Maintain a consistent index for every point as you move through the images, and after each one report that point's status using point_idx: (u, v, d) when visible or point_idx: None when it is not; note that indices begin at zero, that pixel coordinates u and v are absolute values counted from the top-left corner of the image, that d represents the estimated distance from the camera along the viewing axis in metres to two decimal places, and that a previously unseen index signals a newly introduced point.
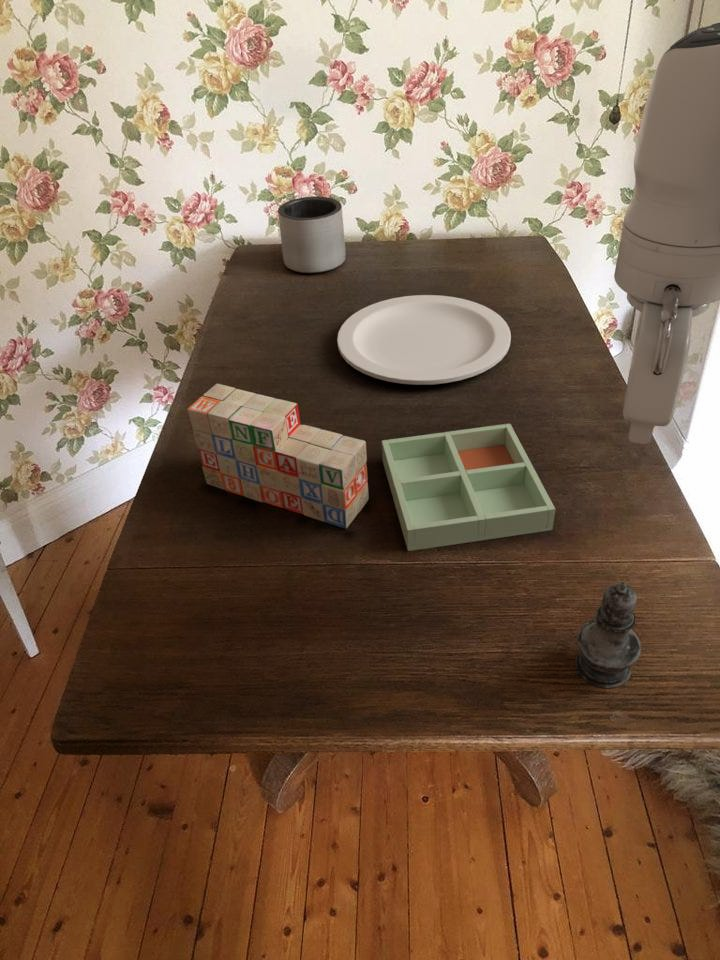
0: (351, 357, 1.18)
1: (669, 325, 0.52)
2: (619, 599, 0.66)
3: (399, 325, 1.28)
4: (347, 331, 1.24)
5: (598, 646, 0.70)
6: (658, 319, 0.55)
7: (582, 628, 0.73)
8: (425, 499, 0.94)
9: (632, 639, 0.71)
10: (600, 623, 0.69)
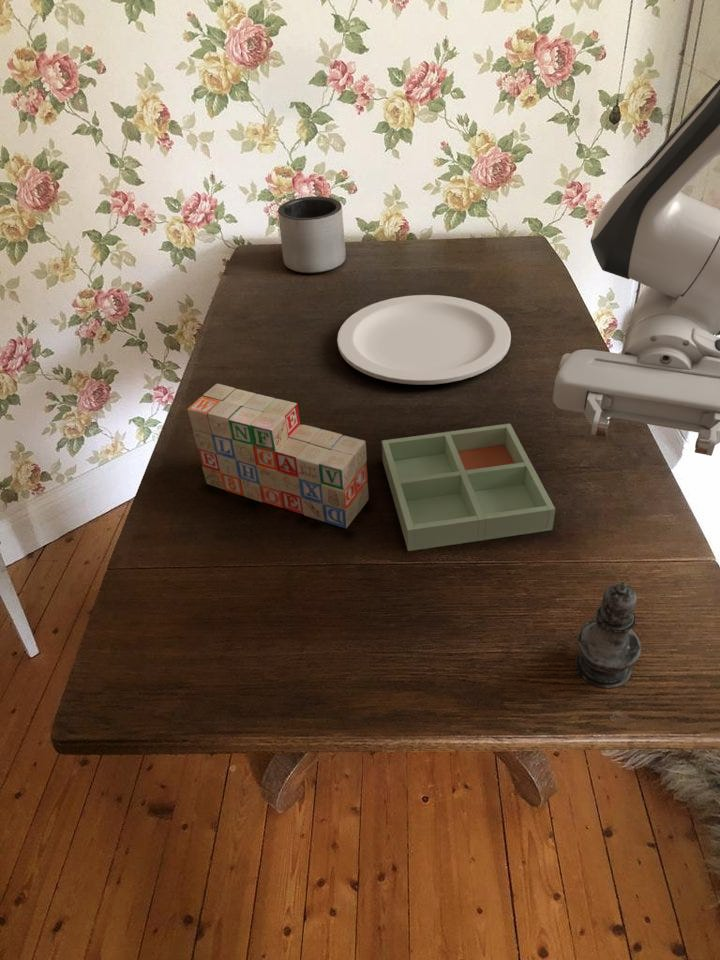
0: (351, 356, 1.18)
1: (571, 353, 0.82)
2: (619, 599, 0.66)
3: (399, 325, 1.28)
4: (347, 331, 1.24)
5: (598, 646, 0.70)
6: None
7: (582, 628, 0.73)
8: (425, 499, 0.94)
9: (632, 639, 0.71)
10: (600, 623, 0.69)
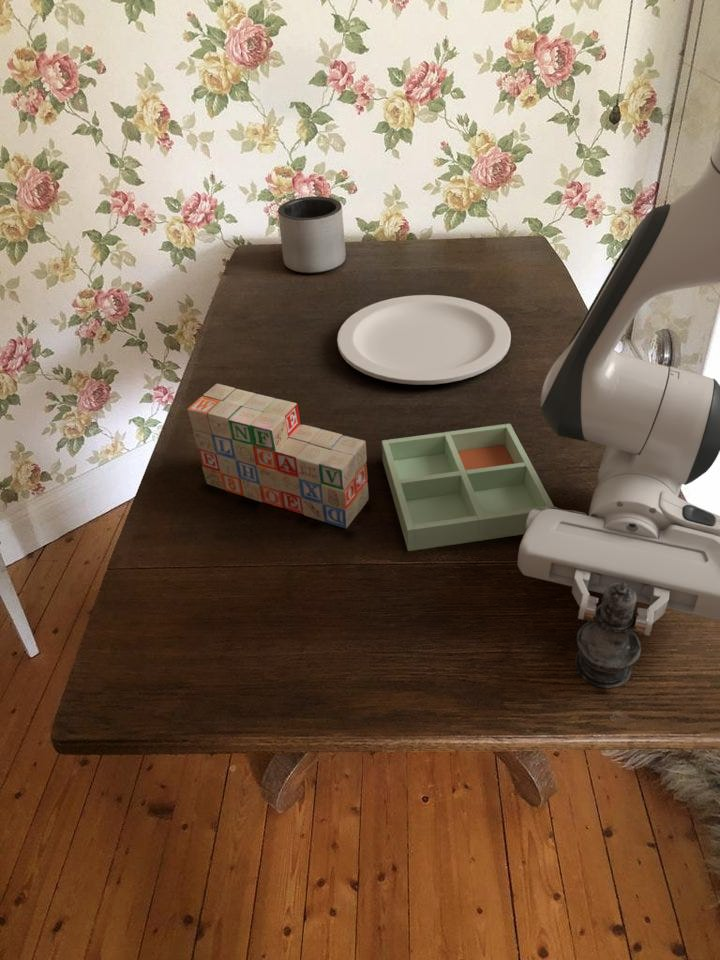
0: (351, 356, 1.18)
1: None
2: (619, 599, 0.66)
3: (399, 325, 1.28)
4: (347, 331, 1.24)
5: (598, 646, 0.70)
6: None
7: (582, 628, 0.73)
8: (425, 499, 0.94)
9: (632, 639, 0.71)
10: (600, 623, 0.69)
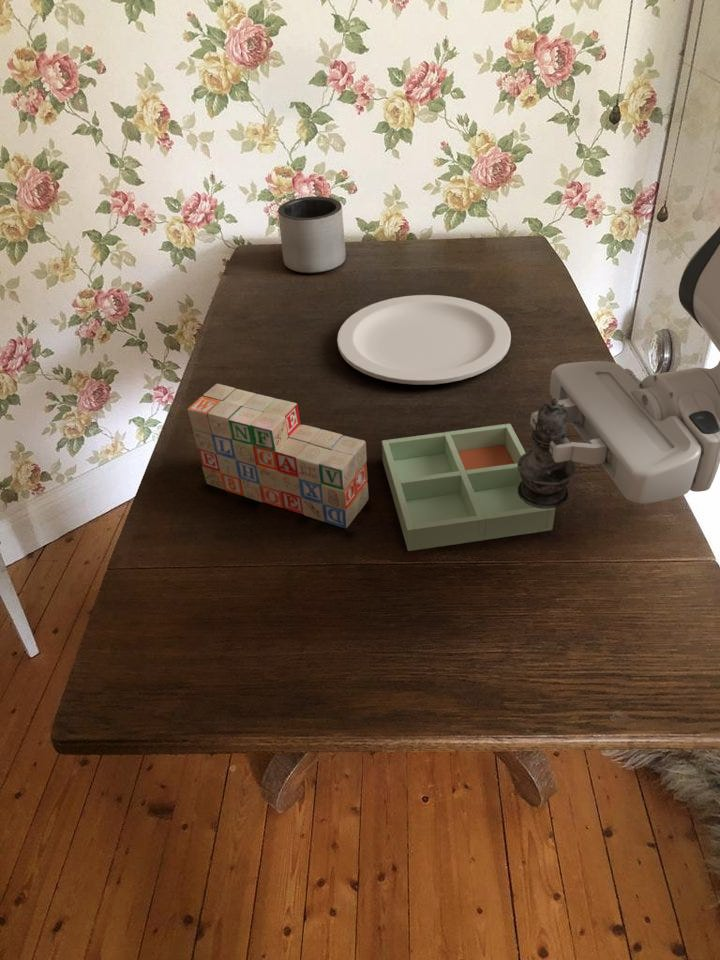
0: (351, 356, 1.18)
1: None
2: (543, 409, 0.73)
3: (399, 325, 1.28)
4: (347, 331, 1.24)
5: (530, 456, 0.78)
6: None
7: None
8: (425, 499, 0.94)
9: (561, 474, 0.76)
10: (533, 431, 0.76)
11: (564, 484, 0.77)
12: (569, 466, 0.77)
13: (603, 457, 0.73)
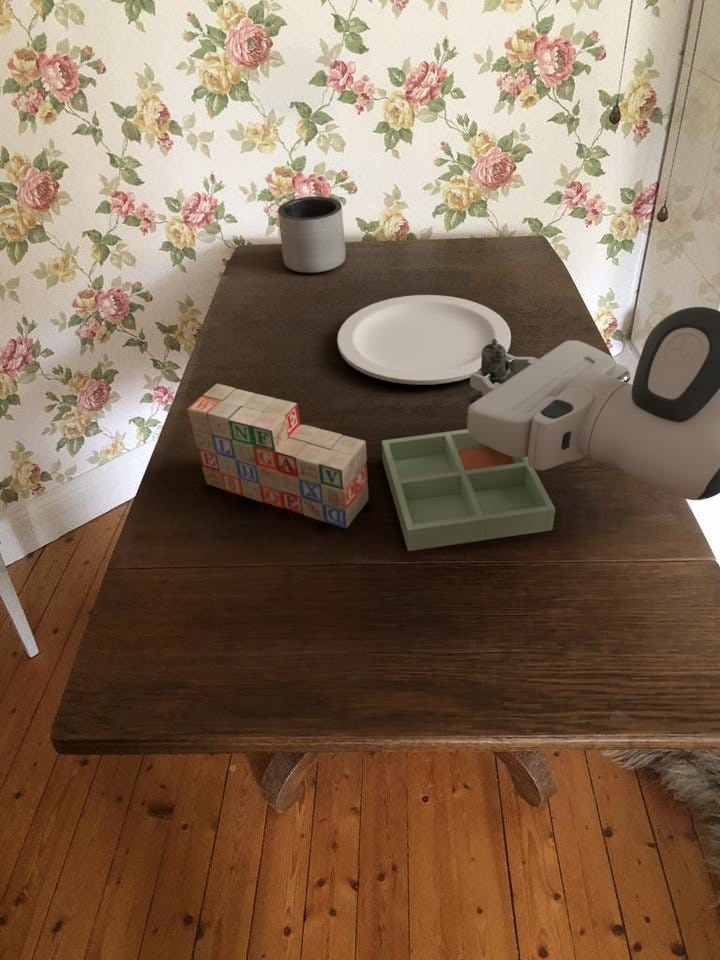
0: (351, 356, 1.18)
1: (629, 374, 0.87)
2: None
3: (399, 325, 1.28)
4: (347, 331, 1.24)
5: None
6: None
7: None
8: (425, 499, 0.94)
9: None
10: None
11: None
12: None
13: None
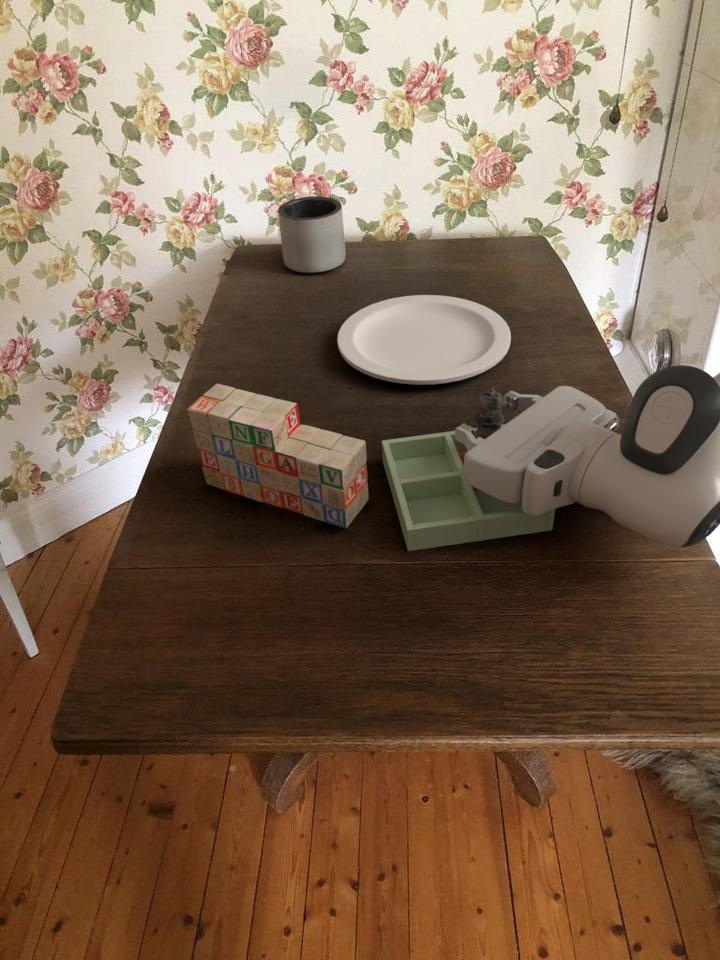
0: (351, 356, 1.18)
1: (618, 420, 0.91)
2: (485, 391, 0.92)
3: (399, 325, 1.28)
4: (347, 331, 1.24)
5: None
6: None
7: None
8: (425, 499, 0.94)
9: None
10: None
11: None
12: None
13: None
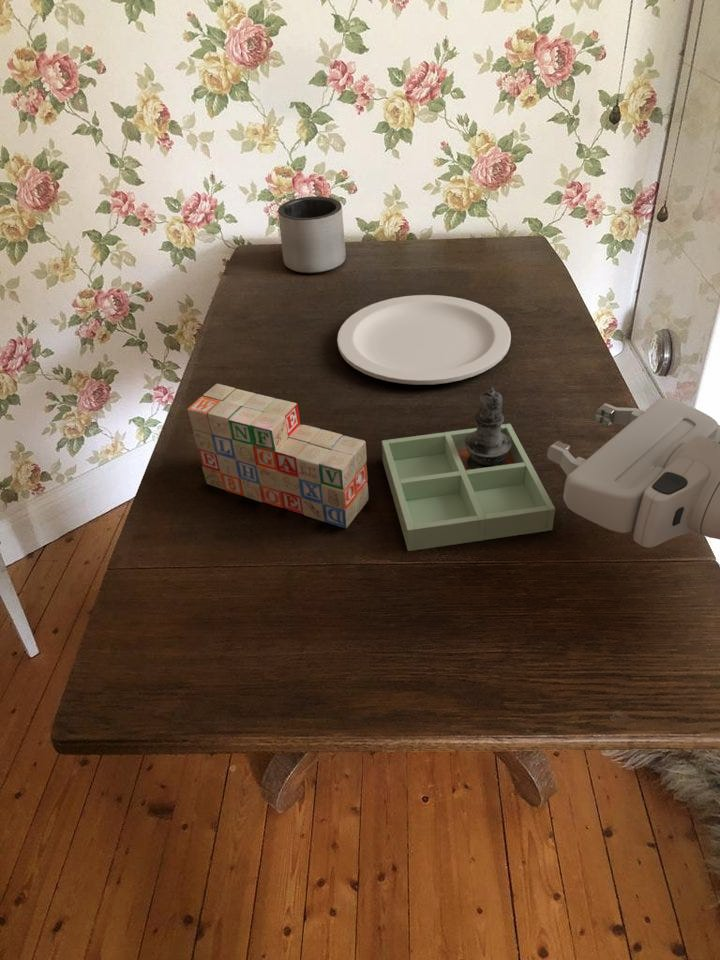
0: (351, 356, 1.18)
1: None
2: (485, 391, 0.92)
3: (399, 325, 1.28)
4: (347, 331, 1.24)
5: None
6: None
7: (505, 435, 0.97)
8: (425, 499, 0.94)
9: (483, 450, 0.94)
10: None
11: (482, 459, 0.94)
12: (496, 451, 0.94)
13: None
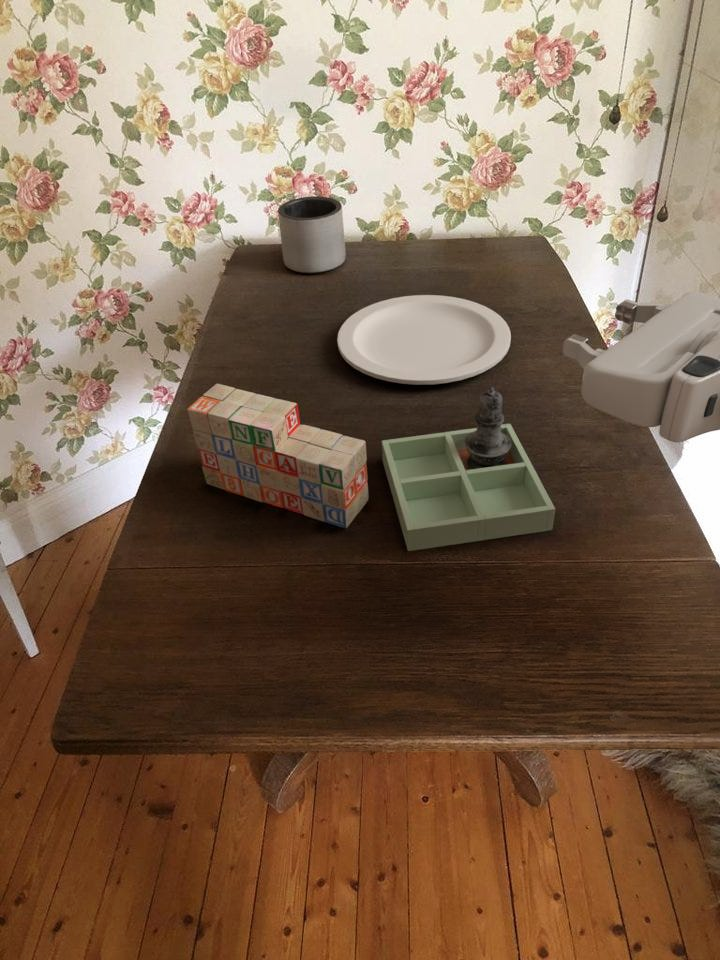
0: (351, 356, 1.18)
1: None
2: (485, 391, 0.92)
3: (399, 325, 1.28)
4: (347, 331, 1.24)
5: None
6: None
7: (505, 435, 0.97)
8: (425, 499, 0.94)
9: (483, 450, 0.94)
10: None
11: (482, 459, 0.94)
12: (496, 451, 0.94)
13: None
